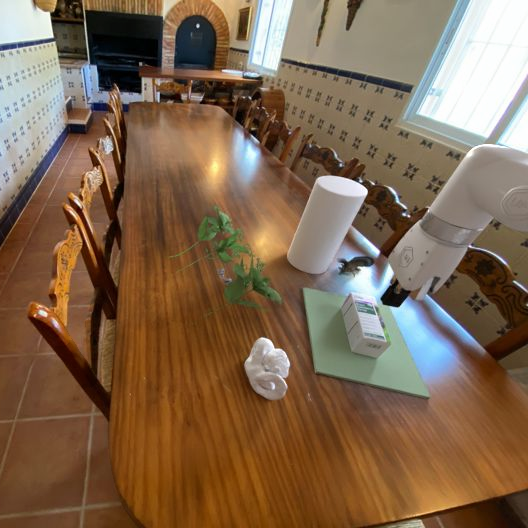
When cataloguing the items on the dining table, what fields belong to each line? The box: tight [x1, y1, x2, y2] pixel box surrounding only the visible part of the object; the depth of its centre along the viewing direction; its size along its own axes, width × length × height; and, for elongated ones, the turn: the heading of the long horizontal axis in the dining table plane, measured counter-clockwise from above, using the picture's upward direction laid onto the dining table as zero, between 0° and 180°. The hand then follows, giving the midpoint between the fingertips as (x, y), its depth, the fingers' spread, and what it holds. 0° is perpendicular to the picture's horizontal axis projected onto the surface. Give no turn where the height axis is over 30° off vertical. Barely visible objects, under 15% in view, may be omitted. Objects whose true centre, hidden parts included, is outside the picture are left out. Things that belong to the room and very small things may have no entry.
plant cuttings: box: [168, 205, 283, 326], centre depth 74 cm, size 35×17×22 cm
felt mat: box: [302, 286, 432, 400], centre depth 70 cm, size 22×26×1 cm
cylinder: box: [286, 175, 368, 275], centre depth 84 cm, size 12×12×25 cm
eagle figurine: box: [336, 255, 375, 278], centre depth 87 cm, size 8×7×9 cm
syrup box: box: [341, 291, 392, 358], centre depth 69 cm, size 6×6×14 cm
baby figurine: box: [243, 337, 291, 401], centre depth 59 cm, size 9×12×8 cm
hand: (389, 303), depth 60 cm, fingers closed
